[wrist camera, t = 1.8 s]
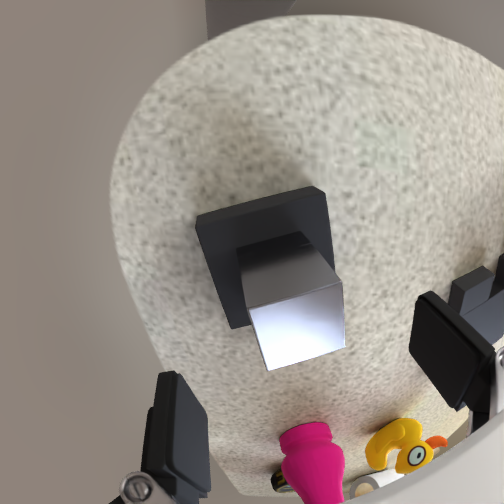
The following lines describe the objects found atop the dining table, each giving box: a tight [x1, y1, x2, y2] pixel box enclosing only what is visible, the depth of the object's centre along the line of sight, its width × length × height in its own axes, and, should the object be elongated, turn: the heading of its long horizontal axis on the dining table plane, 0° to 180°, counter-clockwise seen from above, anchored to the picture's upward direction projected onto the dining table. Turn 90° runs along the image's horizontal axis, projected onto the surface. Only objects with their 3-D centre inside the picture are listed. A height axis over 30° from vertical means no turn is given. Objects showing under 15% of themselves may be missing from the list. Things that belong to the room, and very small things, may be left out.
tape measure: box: [271, 469, 295, 493], centre depth 31 cm, size 7×7×4 cm
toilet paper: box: [350, 469, 404, 499], centre depth 41 cm, size 10×10×10 cm
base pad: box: [448, 254, 504, 345], centre depth 23 cm, size 14×14×2 cm
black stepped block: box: [195, 186, 345, 371], centre depth 14 cm, size 10×7×8 cm
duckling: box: [365, 418, 448, 474], centre depth 27 cm, size 11×5×10 cm, turn 123°
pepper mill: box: [279, 422, 345, 504], centre depth 19 cm, size 7×7×20 cm
